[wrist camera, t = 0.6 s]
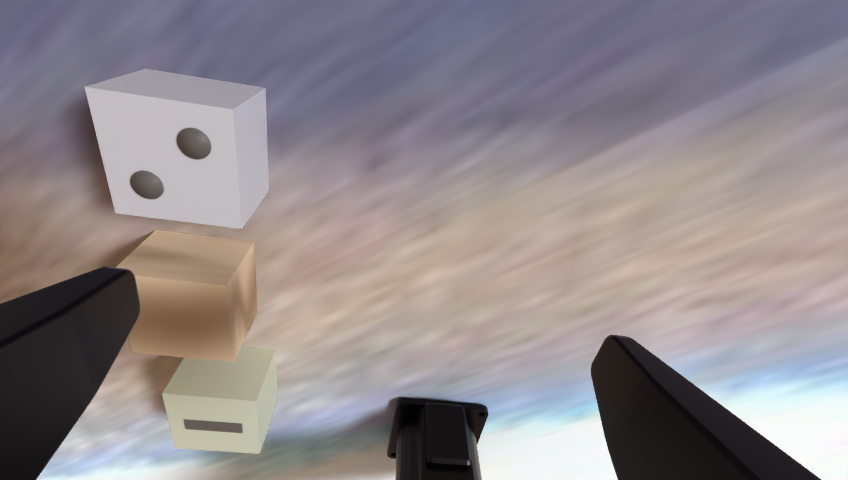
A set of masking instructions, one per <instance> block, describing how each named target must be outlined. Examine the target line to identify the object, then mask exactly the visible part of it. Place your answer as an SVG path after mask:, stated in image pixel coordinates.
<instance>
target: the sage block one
mask: <svg viewBox="0 0 848 480" xmlns="http://www.w3.org/2000/svg"><path fill="white" fill-rule="evenodd" d="M162 396H163V400H164V405H165V409H166V413H167V417H168V421H169V425H170V429H171V433H172V437H173V441H174V446H175V448H178V449H193V450H208V451H223V452H238V453H253V454H260V452H261V449H262V446H263V443H264V440H265V437H266V434H267V431H268V428H269V425H270V422H271V419H272V416H273V413H274V410H275V407H276V404H277V375H276V350H272V349H261V348H251V347H241V348H240V350H239V352H238V354H237V357H236V359H235V361H234V362H227V361H216V360H206V359H195V358H184V359H183V360H182V362H181V364H180V365H179V367H178V368H177V370H176V372H175V373H174V375H173V376H172V378H171V380H170V381H169V383H168V385H167V386H166V388H165V389H164V391H163V393H162Z"/></svg>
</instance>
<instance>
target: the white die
mask: <svg viewBox="0 0 848 480" xmlns="http://www.w3.org/2000/svg"><path fill="white" fill-rule="evenodd" d="M85 90H86V95H87V99H88V103H89V107H90V111H91V115H92V119H93V123H94V127H95V131H96V136H97V140H98V144H99V148H100V152H101V156H102V160H103V164H104V168H105V172H106V177H107V181H108V185H109V189H110V193H111V197H112V201H113V205H114V209H115V213H117V214H126V215H134V216H142V217H150V218H158V219H166V220H174V221H182V222H190V223H198V224H206V225H214V226H222V227H230V228H238V229H242V228H243V226H244V225H245V223H246V222H247V221H248V219H249V218H250V216H251V215H252V214H253V212H254V211H255V209H256V208H257V207H258V205H259V204H260V202H261V201H262V200H263V198H264V197H265V195H266V194H267V193H268V191H269V186H268V154H267V122H266V90H265V88H263V87H256V86H250V85H244V84H238V83H231V82H225V81H219V80H213V79H206V78H200V77H194V76H187V75H181V74H175V73H169V72H162V71H156V70H150V69H143V70H140V71H136V72H133V73H130V74H126V75H123V76H120V77H116V78H113V79H109V80H106V81H103V82H99V83H96V84H93V85H89V86H86V87H85Z"/></svg>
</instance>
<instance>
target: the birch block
mask: <svg viewBox="0 0 848 480" xmlns="http://www.w3.org/2000/svg"><path fill="white" fill-rule="evenodd" d="M116 268H123V269H129V270H131V271H132V272H133V273H134V275H135V279H136V285H137V290H138V295H139V301H140V314H139V317H138V319H137V321H136V323H135V325H134V327H133V328H132V330H131V332H130V334H129V336H128V341H129V345H130V348H131V352H132V353H142V354H152V355H163V356H174V357H184V358H195V359H206V360H216V361H227V362H234V361H235V359H236V357H237V354H238V352H239V350H240V348H241V346H242V344H243V342H244V340H245V338H246V336H247V334H248V332H249V330H250V327H251V325H252V323H253V321H254V319H255V317H256V315H257V313H258V309H257V290H256V272H255V253H254V242H251V241H243V240H235V239H227V238H218V237H210V236H202V235H194V234H186V233H177V232H169V231H161V230H155V231H154V232H153V233H152V234H151V235H150V236H149V237H148V238H147V239H145V240H144V241H143V242H142V243H141V244H140V245H139V246H138V247H137V248H136V249H135V250H134V251H133V252H132V253H130V254H129V255H128V256H127V257H126V258H125V259H124V260H123V261H122V262H121V263H120V264H119V265H118V266H117V267H116Z"/></svg>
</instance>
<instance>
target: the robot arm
mask: <svg viewBox="0 0 848 480" xmlns="http://www.w3.org/2000/svg"><path fill="white" fill-rule="evenodd" d="M139 314H140V301H139V295H138V290H137V285H136V279H135V275H134V273H133V272H132V271H131V270H129V269H123V268H116V267H102V268H99V269H96V270H93V271H90V272H88V273H85V274H82V275H79V276H77V277H74V278H71V279H68V280H65V281H63V282H60V283H57V284H54V285H52V286H49V287H46V288H43V289H41V290H38V291H35V292H32V293H29V294H27V295H24V296H21V297H18V298H16V299H13V300H10V301H7V302H4V303H2V304H0V480H36V479H37V478H38V476H39V475H40V473H41V472H42V471H43V469H44V468H45V466H46V465H47V463H48V462H49V461H50V459H51V458H52V456H53V455H54V453H55V452H56V451H57V449H58V448H59V446H60V445H61V443H62V442H63V441H64V439H65V438H66V436H67V435H68V433H69V432H70V431H71V429H72V428H73V426H74V425H75V424H76V422H77V421H78V419H79V418H80V416H81V415H82V414H83V412H84V411H85V409H86V408H87V406H88V405H89V403H90V402H91V400H92V399H93V397H94V396H95V394H96V393H97V391H98V389H99V387H100V386H101V384H102V382H103V381H104V379H105V377H106V375H107V373H108V372H109V370H110V368H111V366H112V364H113V363H114V361H115V359H116V357H117V355H118V354H119V352H120V350H121V348H122V346H123V345H124V343H125V341H126V339H127V337H128V336H129V334H130V332H131V330H132V328H133V327H134V325H135V323H136V321H137V319H138V317H139ZM591 377H592V381H593V386H594V390H595V394H596V399H597V403H598V408H599V412H600V417H601V421H602V426H603V430H604V435H605V439H606V442H607V446H608V450H609V453H610V456H611V460H612V463H613V466H614V469H615V472H616V475H617V478H618V480H821V479H820V478H818V477H817V476H816V475H814V474H813V473H812V472H810V471H809V470H808V469H806V468H805V467H804V466H802V465H801V464H799V463H798V462H797V461H795V460H794V459H793V458H791V457H790V456H789V455H787V454H786V453H785V452H783V451H782V450H781V449H779V448H778V447H777V446H775V445H774V444H773V443H771V442H770V441H769V440H767V439H766V438H765V437H763V436H762V435H761V434H759V433H758V432H757V431H755V430H754V429H753V428H751V427H750V426H749V425H747V424H746V423H745V422H743V421H742V420H741V419H739V418H738V417H736V416H735V415H734V414H732V413H731V412H730V411H728V410H727V409H726V408H724V407H723V406H722V405H720V404H719V403H718V402H716V401H715V400H714V399H712V398H711V397H710V396H708V395H707V394H706V393H704V392H703V391H702V390H700V389H699V388H698V387H696V386H695V385H694V384H692V383H691V382H690V381H688V380H687V379H686V378H684V377H683V376H682V375H680V374H679V373H678V372H676V371H675V370H674V369H672V368H671V367H670V366H668V365H667V364H665V363H664V362H663V361H661V360H660V359H659V358H657V357H656V356H655V355H653V354H652V353H651V352H649V351H648V350H647V349H645V348H644V347H643V346H641V345H640V344H639V343H637V342H636V341H635V340H633V339H632V338H630V337H626V336H618V335H609V336H608V337H607V338H606V339H605V340H604V342H603V344H602V346H601V348H600V349H599V351H598V353H597V355H596V357H595V359H594V360H593V363H592V366H591ZM487 417H488V409H487V407H486V406H484V405H475V404H463V403H452V402H440V401H429V400H417V399H406V398H403V399H399V400H398V401H397V404H396V409H395V414H394V419H393V425H392V430H391V435H390V440H389V445H388V452H387V455H388V457H390V458H393V459H396V480H482V479H481V472H480V464H479V457H478V450H477V443H478V441H479V438H480V435H481V433H482V430H483V427H484V425H485V422H486V419H487Z"/></svg>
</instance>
